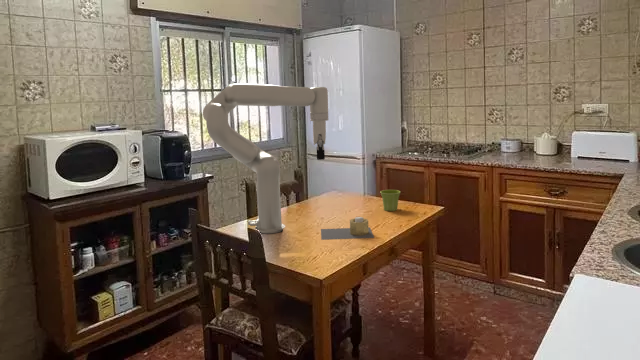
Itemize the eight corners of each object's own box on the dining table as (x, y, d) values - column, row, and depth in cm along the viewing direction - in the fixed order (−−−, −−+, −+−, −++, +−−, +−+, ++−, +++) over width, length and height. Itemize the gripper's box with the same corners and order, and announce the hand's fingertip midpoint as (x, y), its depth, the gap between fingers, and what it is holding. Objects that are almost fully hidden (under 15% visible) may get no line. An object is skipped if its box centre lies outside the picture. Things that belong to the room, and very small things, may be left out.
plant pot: (376, 208, 240) (376, 191, 238) (393, 206, 244) (393, 188, 242) (387, 213, 231) (387, 194, 230) (404, 210, 235) (404, 192, 234)
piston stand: (321, 242, 192) (320, 224, 191) (320, 231, 206) (320, 214, 205) (374, 240, 192) (374, 222, 191) (370, 230, 206) (369, 213, 205)
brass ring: (350, 235, 195) (350, 223, 194) (349, 230, 202) (349, 218, 201) (369, 235, 195) (368, 222, 195) (367, 230, 202) (367, 217, 201)
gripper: (310, 116, 220) (311, 155, 223) (310, 118, 203) (311, 161, 206) (327, 115, 220) (328, 154, 223) (329, 118, 203) (330, 160, 206)
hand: (320, 157), depth 214 cm, fingers open, 9 cm apart
